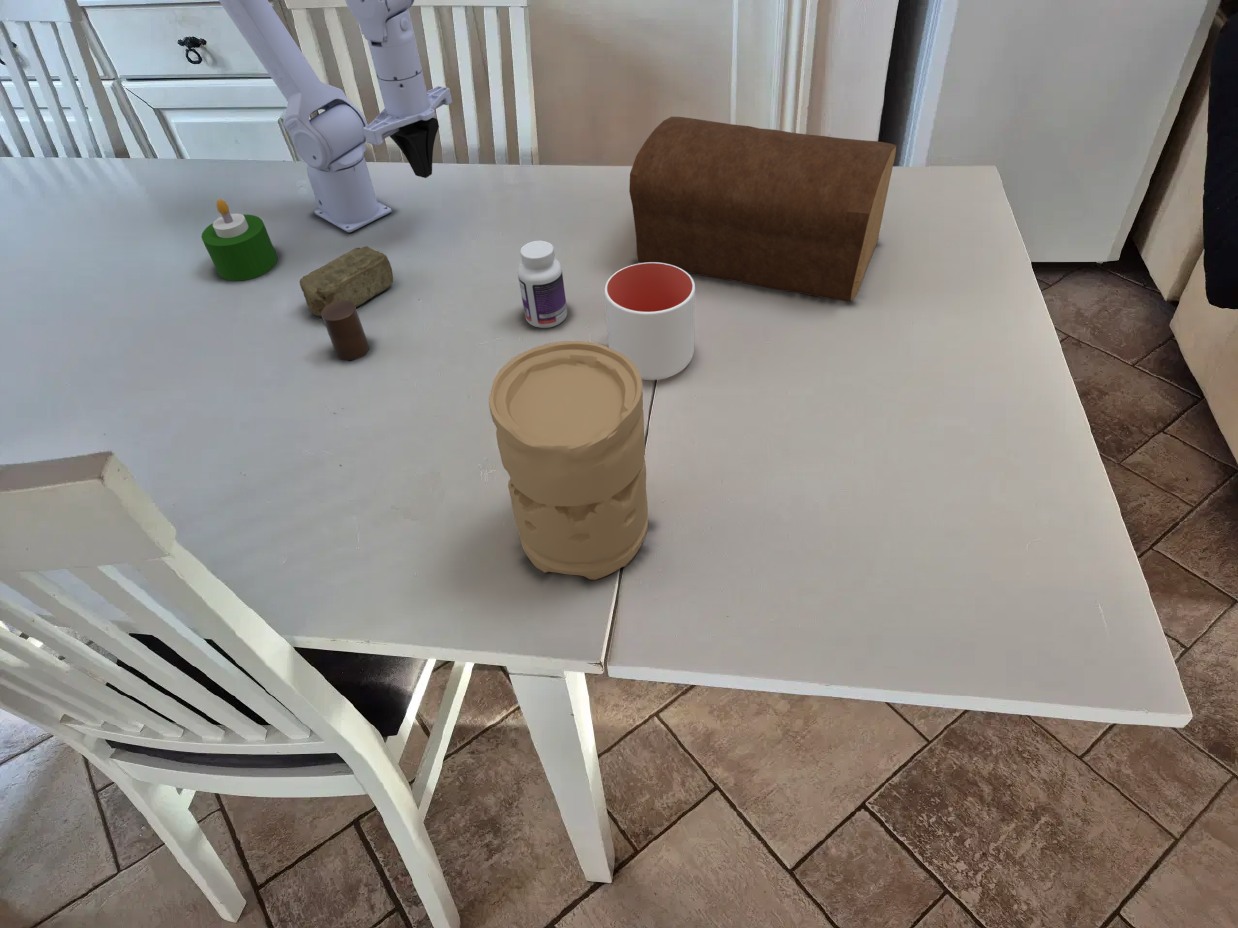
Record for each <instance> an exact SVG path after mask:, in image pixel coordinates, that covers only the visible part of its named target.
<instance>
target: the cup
mask: <svg viewBox="0 0 1238 928" xmlns="http://www.w3.org/2000/svg"><path fill="white" fill-rule="evenodd" d="M603 290H604V301H605V302H604V303H605V315H606V316H605V317H606V330H607V341H608V342H607V343H608V348H610V349H613V350H615V351H617V352H619V353H621V354H623V355H625V356H626V357H627V358H628V359H629V360H631V361H632V362H633V364H634V365H635V366H636V368H637V369H638V371H639V374H640V376H641V381H658V380H659V381H660V380H664V379H668V378H671V377H673V376H675V375H677V374H679V373H680V372H682V371H683V370H684V369H685V368H686V367H688V365H689V364H690V363H691V361H692V360H693V356H694V352H695V326H696V325H695V323H696V321H695V320H696V319H695V318H696V317H695V316H696V283H695V280H694V279H693V277H692V275H690V274H689V272H686V271H684V270H682V269H681V268H679V267H676V266H673V265H670V264H665V263H657V262H648V263H640V262H638V263H634V264H631V265H628V266H625V267H623V268H621V269H619V270H617V271H615V273H613V274H612V275H611V276H609V278H608V279H607V281H606V282H605V285H604V289H603Z"/></svg>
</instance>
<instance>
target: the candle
mask: <svg viewBox="0 0 1238 928" xmlns="http://www.w3.org/2000/svg"><path fill="white" fill-rule="evenodd" d="M216 208H217V212H218V213H219V214H220V215H221V216H219V217H218V218H216V219H215V220H214V221H212V223H210V224H209V225H208V226H207V227H206V228H205V229H204V230H203V231H202V233H201V240H202V242H203V245H204V246H205V249H206V250H207V253H208V255H209V257H210V259H211V261H212V263H213V265H214V267H215V269H216V272H217V274H218V276H220V277H221V278H222V279H224V280H227V281H234V282H240V281H248V280H251V279H252V280H253V279H255V278H258V277H261V276H262V275H264V274H266V273H268V272H269V271H270V270H272V269H273V268H274V267H275V265H276V264H277V263H278V255H277V253H276V250H275V247H274V245H273V242H272V239H271V237H270V235H269V233H268V231H267V228H266V225H265V222H264V221H263V219H262V218H260V217H259V216H257V215H254V214H242V213H236V212H235V213H231V212H230V207H229V205H228V203H227V202H226V201H224V200H223V199H221V198H219V199H218V200H217V201H216Z"/></svg>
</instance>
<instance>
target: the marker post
mask: <svg viewBox="0 0 1238 928" xmlns="http://www.w3.org/2000/svg"><path fill="white" fill-rule="evenodd" d="M321 315H322V316H321V318H322V320H323V323H324V326H325V329H326V331H327V334H328V336H329V339H330V341H331V344H332V347H333V349H334V352H335V354H336V356H337V357H338V359H340V360H343V361H355V360H357V359H360V358H362V357H364V356H365V355H366V354H367V353H368V351H369V350H370V345H369V342H368V340H367V339H368V338H367V336H366V334H365V331H364V328H363V325H362V322H361V319H360V316H359V313H358V310H357V307H355V305H354V304H353V303H352V302H349V301H337V302H333V303H331V304H329V305H327V306H326V307H325V308H324V309H323V310H322V313H321Z"/></svg>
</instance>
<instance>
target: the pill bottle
mask: <svg viewBox="0 0 1238 928" xmlns="http://www.w3.org/2000/svg"><path fill="white" fill-rule="evenodd" d="M519 251H520V258H521V263H520V264H519V266H518V267H517V276H518V277H517V278H518V282H519V289H520V295H521V300H522V306H523V311H524V317H525V321H526V322H527V323H528V324H529V325H531V326H533V327H536V328H541V329H543V328H544V329H546V328H552V327H553V328H554V327H556V326H558V325H560V324H562V322H564V321H565V320H566V318H567V315H568V306H567V299H566V290H565V285H564V284H565V283H564V276H563V268H562V267H563V266H562V264H561V263H560V261H559V260H558V259H556V258H555V257H556V255H555V247H554V245H553V244H552V243H550V242H549V241H546V240H534V241H533V240H532V241H530V242H527V243H525V244H524V245H523V246H522V247H521V248H520V250H519Z"/></svg>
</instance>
